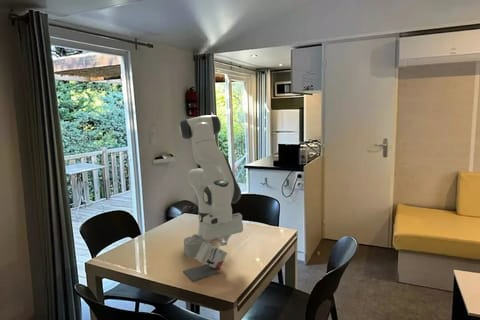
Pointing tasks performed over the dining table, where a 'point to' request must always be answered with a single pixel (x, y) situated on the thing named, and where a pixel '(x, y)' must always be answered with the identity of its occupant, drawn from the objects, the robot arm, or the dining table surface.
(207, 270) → the mat
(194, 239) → the grey chunky block
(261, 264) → the dining table surface
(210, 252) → the ink box
